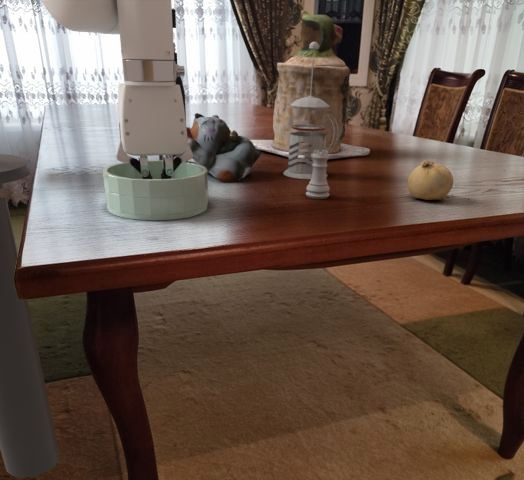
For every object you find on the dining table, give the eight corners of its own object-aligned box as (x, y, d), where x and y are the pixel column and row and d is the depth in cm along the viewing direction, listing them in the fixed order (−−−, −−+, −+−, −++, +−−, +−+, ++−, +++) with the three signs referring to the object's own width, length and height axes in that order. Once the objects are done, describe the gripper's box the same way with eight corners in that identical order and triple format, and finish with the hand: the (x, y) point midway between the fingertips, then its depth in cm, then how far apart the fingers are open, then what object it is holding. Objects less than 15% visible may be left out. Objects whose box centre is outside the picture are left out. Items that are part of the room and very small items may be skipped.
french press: (297, 168, 120) (305, 42, 108) (343, 175, 115) (356, 43, 102) (274, 174, 113) (279, 40, 101) (321, 182, 108) (333, 41, 95)
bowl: (125, 225, 78) (121, 183, 75) (95, 200, 90) (90, 163, 87) (224, 213, 85) (224, 175, 82) (184, 191, 97) (182, 157, 94)
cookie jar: (304, 164, 125) (315, 3, 109) (242, 149, 142) (244, 8, 126) (373, 155, 139) (391, 12, 123) (309, 143, 155) (318, 15, 140)
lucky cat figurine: (240, 185, 103) (203, 117, 96) (196, 200, 110) (159, 138, 103) (271, 151, 112) (240, 87, 105) (229, 168, 119) (197, 109, 113)
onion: (412, 192, 102) (418, 153, 99) (453, 198, 99) (462, 158, 95) (399, 200, 96) (406, 159, 93) (443, 206, 93) (451, 165, 89)
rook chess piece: (306, 199, 95) (310, 152, 91) (303, 193, 99) (306, 148, 95) (331, 199, 95) (335, 153, 91) (327, 194, 99) (331, 149, 95)
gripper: (196, 73, 83) (200, 192, 92) (93, 72, 79) (107, 196, 88) (207, 76, 77) (210, 202, 86) (94, 74, 72) (110, 207, 81)
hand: (158, 198), depth 87 cm, fingers closed
